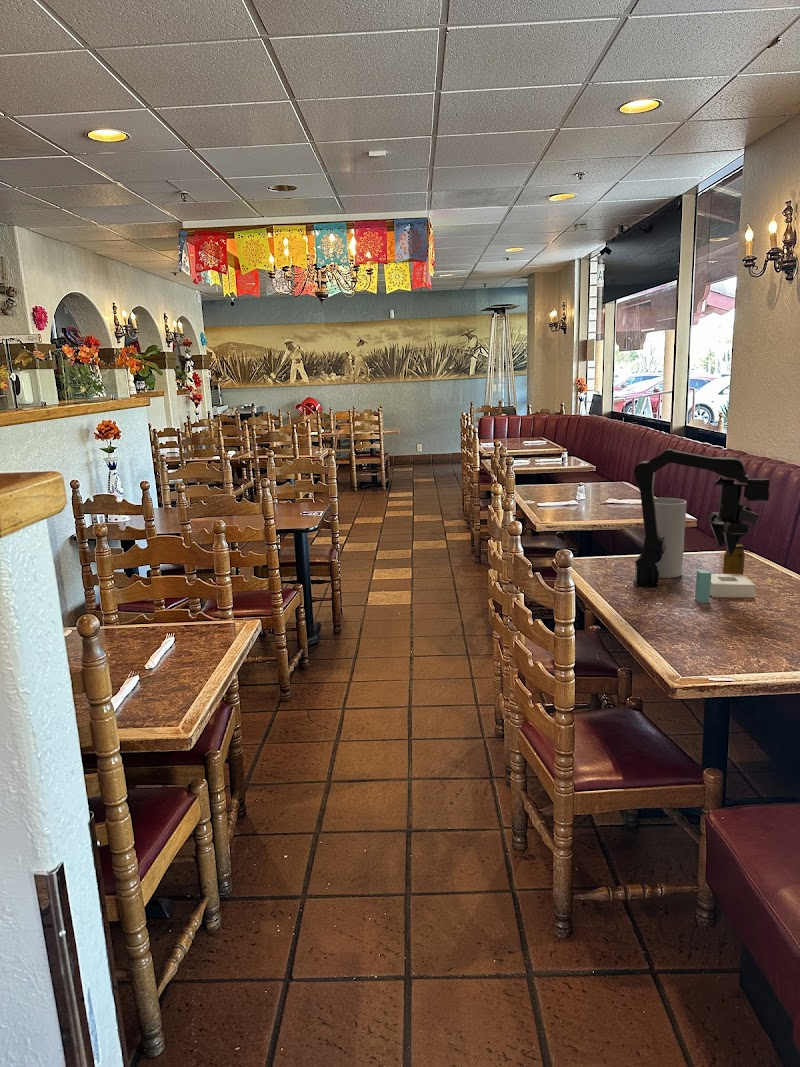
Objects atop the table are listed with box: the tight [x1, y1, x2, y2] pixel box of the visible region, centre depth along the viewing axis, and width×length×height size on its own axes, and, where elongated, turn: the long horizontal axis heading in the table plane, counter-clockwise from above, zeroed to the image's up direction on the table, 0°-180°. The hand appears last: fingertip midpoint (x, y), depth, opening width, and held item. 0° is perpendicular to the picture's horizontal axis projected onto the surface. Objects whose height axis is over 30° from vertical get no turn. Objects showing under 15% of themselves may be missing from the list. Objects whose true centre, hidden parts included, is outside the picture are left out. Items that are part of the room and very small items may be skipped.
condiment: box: [722, 543, 754, 583], centre depth 236 cm, size 7×8×12 cm
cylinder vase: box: [643, 497, 687, 579], centre depth 245 cm, size 12×12×25 cm
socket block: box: [710, 573, 756, 599], centre depth 226 cm, size 12×12×4 cm
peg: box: [694, 569, 712, 604], centre depth 217 cm, size 3×3×9 cm
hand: (725, 550), depth 224 cm, fingers open, 9 cm apart
